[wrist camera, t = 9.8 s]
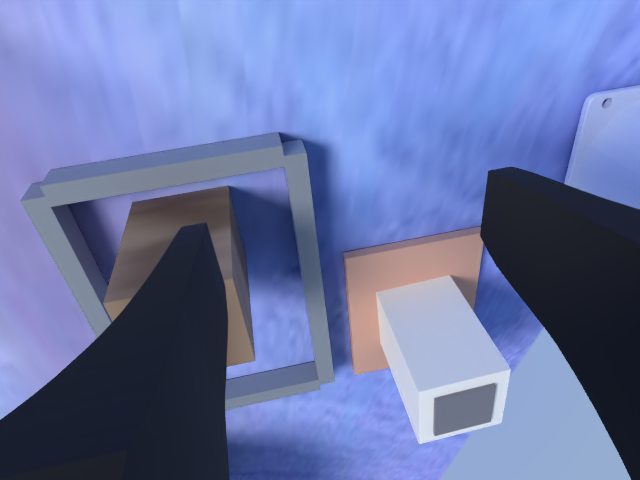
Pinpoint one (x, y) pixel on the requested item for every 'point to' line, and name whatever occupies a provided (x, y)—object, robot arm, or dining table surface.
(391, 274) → the terracotta mat
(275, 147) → the grey rectangular frame
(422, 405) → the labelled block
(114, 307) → the walnut block
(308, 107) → the dining table surface
